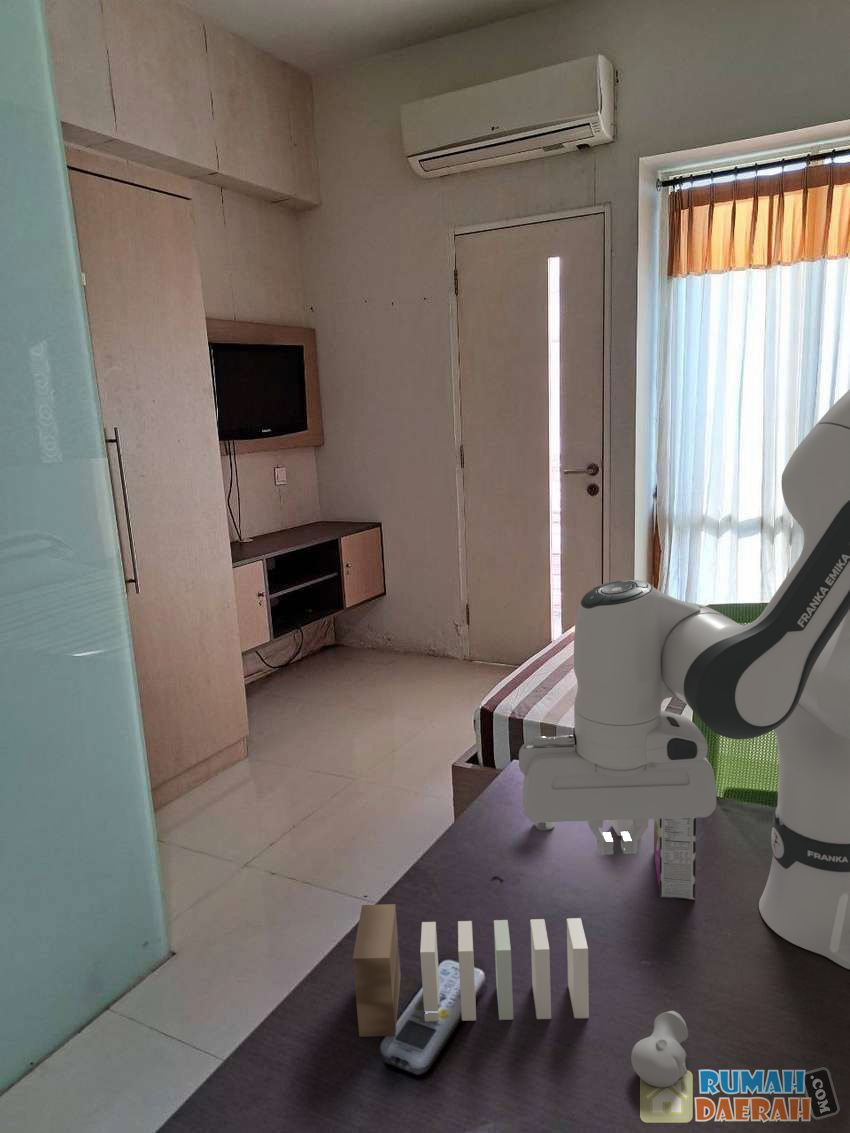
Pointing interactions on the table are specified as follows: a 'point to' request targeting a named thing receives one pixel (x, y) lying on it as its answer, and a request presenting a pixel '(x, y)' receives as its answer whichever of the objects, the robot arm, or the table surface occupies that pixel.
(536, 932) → the domino
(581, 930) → the domino
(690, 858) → the candy bar box
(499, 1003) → the domino
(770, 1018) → the table surface
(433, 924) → the domino
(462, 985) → the domino
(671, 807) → the robot arm
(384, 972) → the end block
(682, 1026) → the smooth white sculpture
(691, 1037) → the table surface
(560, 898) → the table surface
